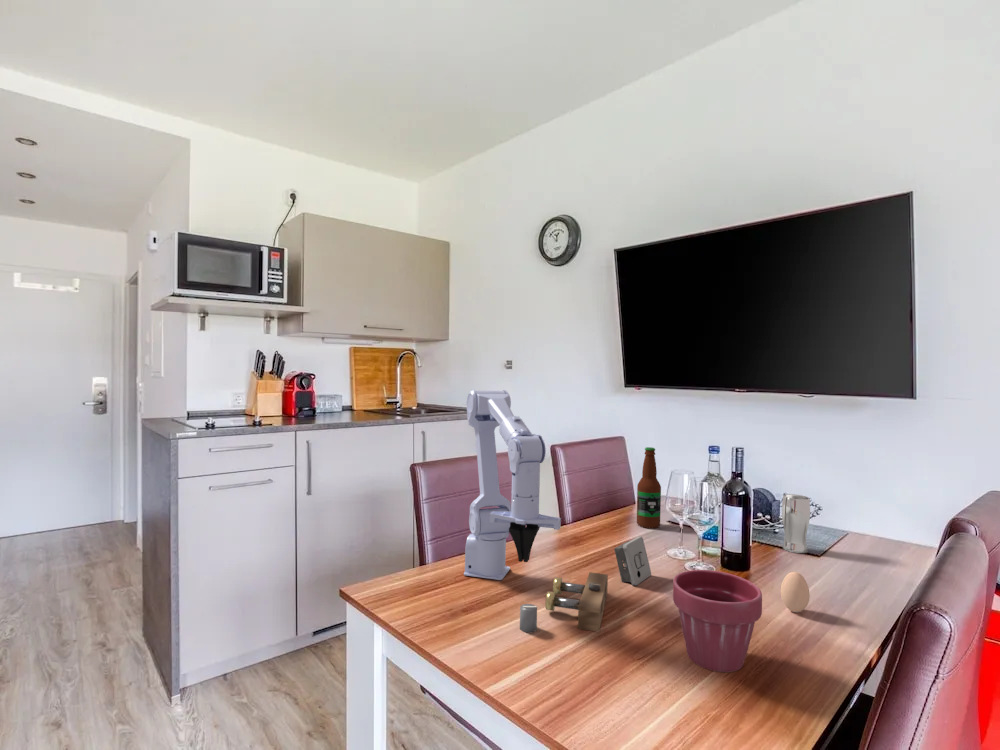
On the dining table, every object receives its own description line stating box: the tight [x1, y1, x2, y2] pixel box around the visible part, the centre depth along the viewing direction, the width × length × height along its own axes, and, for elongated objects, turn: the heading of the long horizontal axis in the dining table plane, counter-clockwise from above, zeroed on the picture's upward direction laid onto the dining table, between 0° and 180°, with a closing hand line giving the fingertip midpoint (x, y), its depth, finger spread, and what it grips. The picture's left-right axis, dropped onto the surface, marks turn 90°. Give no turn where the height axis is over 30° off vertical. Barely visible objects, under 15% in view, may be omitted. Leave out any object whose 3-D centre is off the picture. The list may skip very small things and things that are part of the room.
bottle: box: [636, 447, 662, 530], centre depth 171 cm, size 7×7×25 cm
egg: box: [780, 571, 811, 613], centre depth 111 cm, size 5×5×8 cm
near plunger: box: [544, 591, 581, 611], centre depth 107 cm, size 8×3×3 cm, turn 74°
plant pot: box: [672, 569, 763, 673], centre depth 92 cm, size 14×14×13 cm
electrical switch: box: [614, 536, 652, 587], centre depth 127 cm, size 9×5×9 cm, turn 141°
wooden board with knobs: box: [577, 571, 609, 633], centre depth 110 cm, size 4×18×5 cm, turn 164°
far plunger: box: [552, 576, 585, 596], centre depth 115 cm, size 8×3×3 cm, turn 74°
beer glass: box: [781, 493, 811, 554], centre depth 150 cm, size 7×7×15 cm
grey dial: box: [519, 603, 538, 634], centre depth 101 cm, size 3×3×4 cm
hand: (523, 560), depth 110 cm, fingers closed
